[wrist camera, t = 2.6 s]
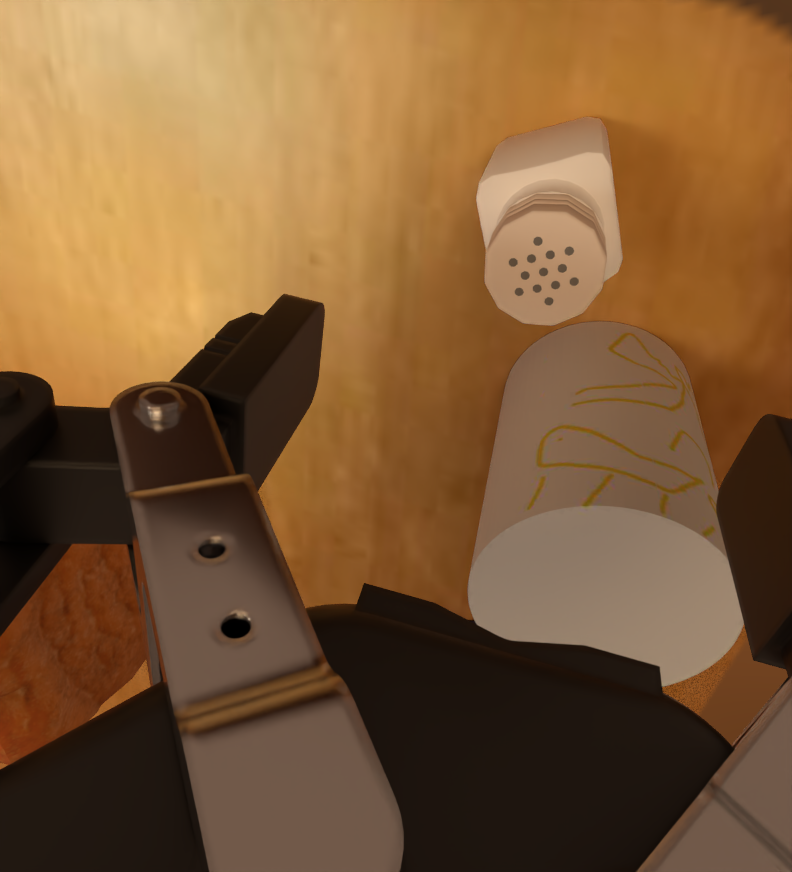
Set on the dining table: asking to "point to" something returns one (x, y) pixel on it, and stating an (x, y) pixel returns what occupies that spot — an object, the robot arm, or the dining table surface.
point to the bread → (68, 648)
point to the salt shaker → (550, 221)
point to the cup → (604, 507)
